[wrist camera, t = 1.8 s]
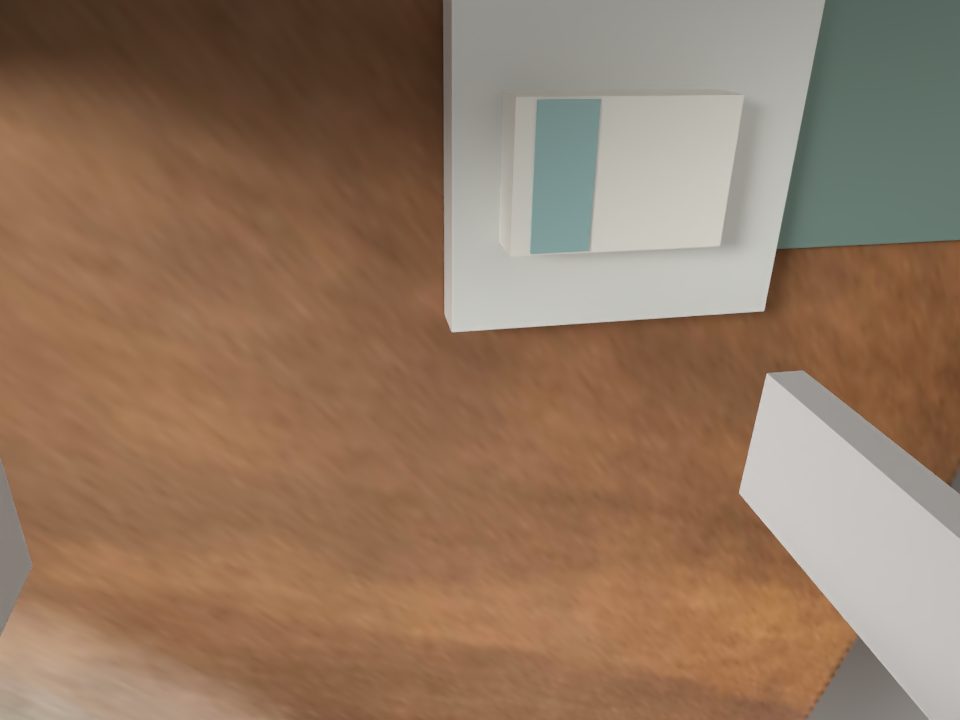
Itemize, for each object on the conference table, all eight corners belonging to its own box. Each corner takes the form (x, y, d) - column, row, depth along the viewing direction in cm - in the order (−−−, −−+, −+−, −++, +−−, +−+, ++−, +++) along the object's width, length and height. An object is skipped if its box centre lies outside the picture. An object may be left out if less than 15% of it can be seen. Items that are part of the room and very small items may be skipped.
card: (503, 90, 29) (516, 97, 27) (719, 88, 31) (745, 95, 29) (498, 241, 32) (510, 257, 30) (698, 232, 33) (720, 247, 31)
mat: (812, -90, 30) (818, -90, 30) (1119, -76, 33) (1128, -77, 33) (751, 247, 36) (756, 250, 36) (1014, 234, 39) (1021, 236, 39)
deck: (442, -28, 29) (451, -29, 27) (799, -20, 31) (829, -20, 30) (444, 314, 35) (451, 332, 33) (742, 296, 38) (764, 311, 36)
